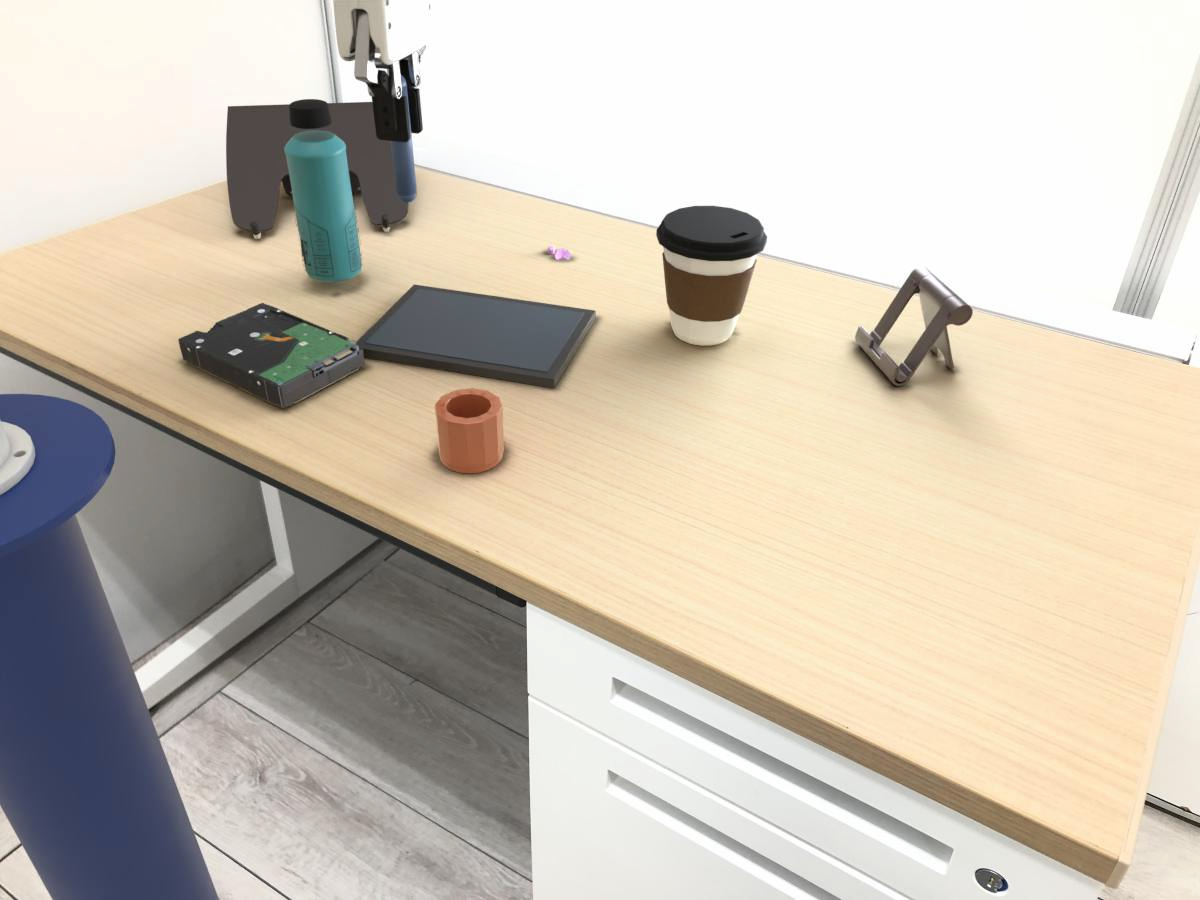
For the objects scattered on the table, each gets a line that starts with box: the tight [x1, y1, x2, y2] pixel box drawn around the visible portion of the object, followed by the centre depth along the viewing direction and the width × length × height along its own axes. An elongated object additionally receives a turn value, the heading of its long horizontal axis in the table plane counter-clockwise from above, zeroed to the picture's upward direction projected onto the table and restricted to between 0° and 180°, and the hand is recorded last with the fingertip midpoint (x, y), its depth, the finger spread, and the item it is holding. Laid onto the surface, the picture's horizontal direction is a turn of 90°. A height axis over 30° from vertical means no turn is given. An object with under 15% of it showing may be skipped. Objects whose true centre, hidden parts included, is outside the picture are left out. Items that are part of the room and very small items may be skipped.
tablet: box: [355, 284, 597, 389], centre depth 99 cm, size 15×21×1 cm
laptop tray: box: [225, 101, 409, 240], centre depth 126 cm, size 23×23×9 cm
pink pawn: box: [547, 245, 571, 261], centre depth 116 cm, size 3×2×2 cm
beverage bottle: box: [284, 98, 363, 283], centre depth 103 cm, size 6×7×20 cm
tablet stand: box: [854, 266, 974, 387], centre depth 94 cm, size 9×8×8 cm
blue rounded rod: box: [388, 74, 418, 204], centre depth 89 cm, size 2×2×12 cm
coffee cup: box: [655, 205, 768, 347], centre depth 98 cm, size 11×11×12 cm
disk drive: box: [177, 302, 365, 409], centre depth 92 cm, size 10×3×15 cm
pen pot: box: [434, 387, 505, 474], centre depth 80 cm, size 5×5×5 cm
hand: (400, 134), depth 89 cm, fingers closed on blue rounded rod, 2 cm apart
